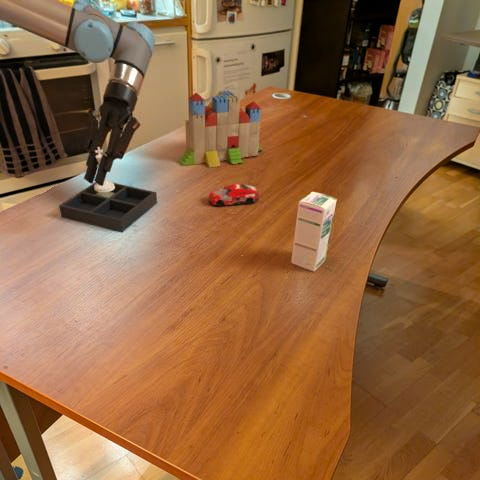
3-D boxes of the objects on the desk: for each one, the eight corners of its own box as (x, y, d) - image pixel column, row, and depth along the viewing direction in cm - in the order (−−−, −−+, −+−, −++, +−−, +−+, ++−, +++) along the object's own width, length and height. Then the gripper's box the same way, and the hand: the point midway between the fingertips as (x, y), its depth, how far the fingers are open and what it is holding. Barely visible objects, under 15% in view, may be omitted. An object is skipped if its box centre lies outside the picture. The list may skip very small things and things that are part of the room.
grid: (61, 216, 108) (58, 205, 106) (101, 190, 120) (99, 179, 118) (122, 232, 104) (120, 220, 102) (157, 202, 116) (156, 192, 114)
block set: (253, 144, 152) (257, 80, 139) (273, 159, 142) (279, 92, 130) (171, 153, 142) (168, 85, 130) (186, 170, 132) (185, 99, 120)
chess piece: (93, 185, 115) (86, 144, 108) (113, 182, 116) (107, 143, 110) (95, 193, 111) (89, 152, 105) (116, 191, 113) (111, 150, 106)
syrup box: (314, 272, 96) (326, 208, 86) (289, 263, 98) (298, 199, 89) (325, 260, 100) (338, 198, 90) (301, 251, 102) (311, 190, 92)
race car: (210, 208, 115) (210, 193, 113) (206, 198, 119) (206, 184, 117) (260, 204, 119) (261, 189, 116) (254, 195, 123) (255, 180, 120)
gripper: (157, 104, 112) (128, 194, 111) (103, 94, 116) (75, 182, 114) (144, 85, 105) (113, 181, 104) (87, 75, 108) (57, 169, 107)
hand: (93, 182), depth 109 cm, fingers closed on chess piece, 2 cm apart
